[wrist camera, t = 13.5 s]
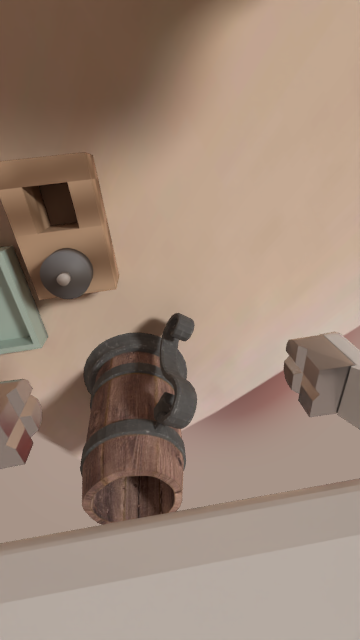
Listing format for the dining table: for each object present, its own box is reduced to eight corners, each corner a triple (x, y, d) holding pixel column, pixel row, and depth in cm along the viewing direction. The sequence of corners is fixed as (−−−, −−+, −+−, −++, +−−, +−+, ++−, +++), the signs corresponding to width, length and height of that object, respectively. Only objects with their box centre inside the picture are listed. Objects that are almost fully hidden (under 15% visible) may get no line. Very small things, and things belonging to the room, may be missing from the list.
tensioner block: (9, 164, 30) (-34, 161, 22) (92, 155, 30) (77, 149, 23) (51, 285, 36) (28, 312, 29) (119, 275, 37) (113, 300, 30)
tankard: (157, 424, 51) (166, 554, 34) (67, 396, 46) (21, 535, 28) (228, 325, 43) (288, 429, 25) (128, 277, 37) (118, 367, 20)
